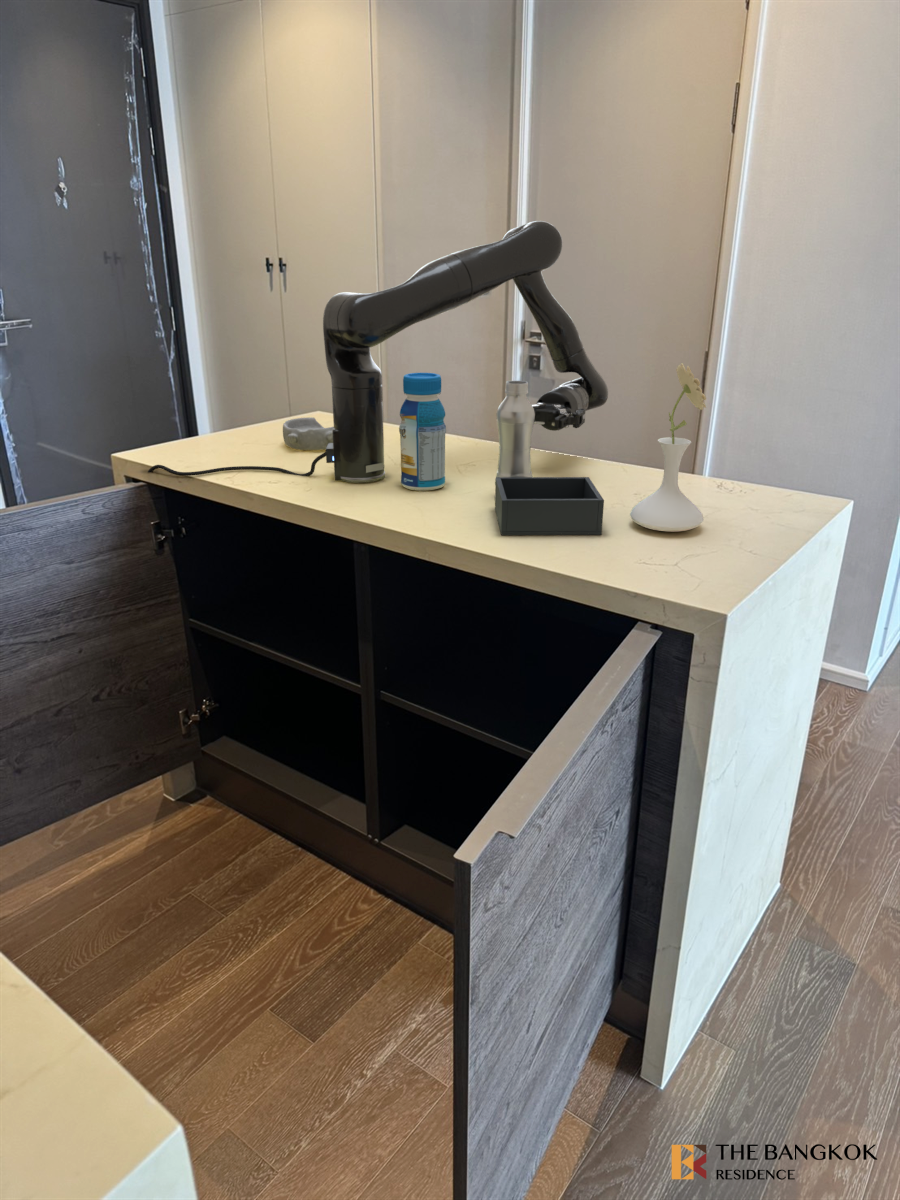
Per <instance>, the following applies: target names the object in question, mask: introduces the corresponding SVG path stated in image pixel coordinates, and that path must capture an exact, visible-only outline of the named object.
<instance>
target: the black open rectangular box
mask: <svg viewBox="0 0 900 1200" xmlns="http://www.w3.org/2000/svg"><path fill="white" fill-rule="evenodd" d="M495 479H496V484H495V483H494V487H495V488H494V491H495V493H494V511H495V515H496V520H497V524H498V529H499V532H500V535H501V536H602V534H603V519H604V508H605V506H604V505H605V500H604V498H603V496H602V494H600V492H599V490H598V488H597V487H596V486H595V484H594V483H593V481H592V479H591V478H590V476H533V477H501V478H500V477H496V476H495Z"/></svg>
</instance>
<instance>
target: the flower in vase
mask: <svg viewBox="0 0 900 1200" xmlns="http://www.w3.org/2000/svg"><path fill="white" fill-rule="evenodd" d="M675 370H676V374H677V378H678V383H679V385H680V386H681V387H682V391H681V393H680V394H679V396H678V398H677V399H676V401H675V404H674V406H673V407H672V411H671V413H670V412H668V416H669V419H668V421H669V422H670V429H669V431H670V432H671V436H667V437H661V438H657V443H658V444H659V445H660V447H661V450H662V454H663V465H664V466H663V474H662V475H663V476H662V481H661V484H660V486H659V487H658V489H656V490H655V491H654V492H652V493H651V494H649V495H648V496H646V497H645V498H643V499H642V500H640V501H639V502H637V504H635V505H634V506H633V507H632V509H631V511H630V513H629V517H630V518H631V520H632V521H633V523H635V524H637V525H639V526H641V527H643V528H646V529H649V530H654V531H660V532H669V533H670V532H672V533H673V532H685V531H689V530H693V529H696V528H698V527H700V526H701V524H703V522H704V516H703V513H702V511H701V510H700V509H699V507H698V506H697V505H696V504H695V503H694V502H693V501H692V500H691V499H689V497H687V495H685V494H684V493H683V492H682V491H681V489H680V486H679V472H680V467H681V462H682V459H683V456H684V453H685V452H686V450H687V448H689V446H690V445H691V444H692V441H691V440H690V439H688V438H684V437H676V436H675V431H677V430H679V429H681V428H682V427H685V426H686V425H687V422H686V420H685V419H683V420H682V421H681V422H680V423H679V424H677V425H675V421H674V415H675V411H676V408H677V407H678V405H679V403H680V401H681V399H682V397H683V396H684V395H686V397H687V399H689V401H690V403H691V404H692V405H694V408H696V409H698V410H699V411H702V410H704V409H706V408H707V405H706V404H705V402H704V401H706V400H707V397H706V395H705V393H703V389H702V388H701V387H700V385H701V381H700V380H699V378H698V377H695V375H694V373H693V372H692V370H691V367H690V366H689V365H687V366H686V367H685V364H684V363H682V362H681V363H680V364H678V365H676V368H675Z"/></svg>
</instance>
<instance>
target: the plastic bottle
mask: <svg viewBox="0 0 900 1200" xmlns="http://www.w3.org/2000/svg"><path fill="white" fill-rule="evenodd" d="M504 394H506V396H505V398H504V399H503V400H502V401H501V403H500V404H499V406H498V407H497V409H496V413H495V414H496V415H495V416H496V425H497V426H496V427H497V433H498V461H497V470H496V474H495V479H494V485H495V484H496V477H500V478H501V477H534V476H533V472H532V458H531V457H532V456H531V451H532V450H531V448H532V447H531V444H532V437H533V429H534V425H535V424H534V419H535V412H534V408H533V407H532V405H533V404H532V403H531V401H530V400H529V398H528V397H527V396H528V395H529V382H528V381H527V380H507V381H506V382H505V390H504Z"/></svg>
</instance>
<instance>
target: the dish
mask: <svg viewBox="0 0 900 1200" xmlns="http://www.w3.org/2000/svg"><path fill="white" fill-rule="evenodd" d="M333 429H334V426H330V427H324V426H323V425H322V424H321V423H319V422H318V421H317V419H316V418H315V417H312V416H311V417H310V416H309V417H297V418H292V419H288V420H286V421H284V423H283V424H282V437H283V442H284V445H285V446H287V447H289V448H291V449H294V450H298V451H323V450H325V451H326V447H327V445H328V443H333V434H332V431H333Z"/></svg>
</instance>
